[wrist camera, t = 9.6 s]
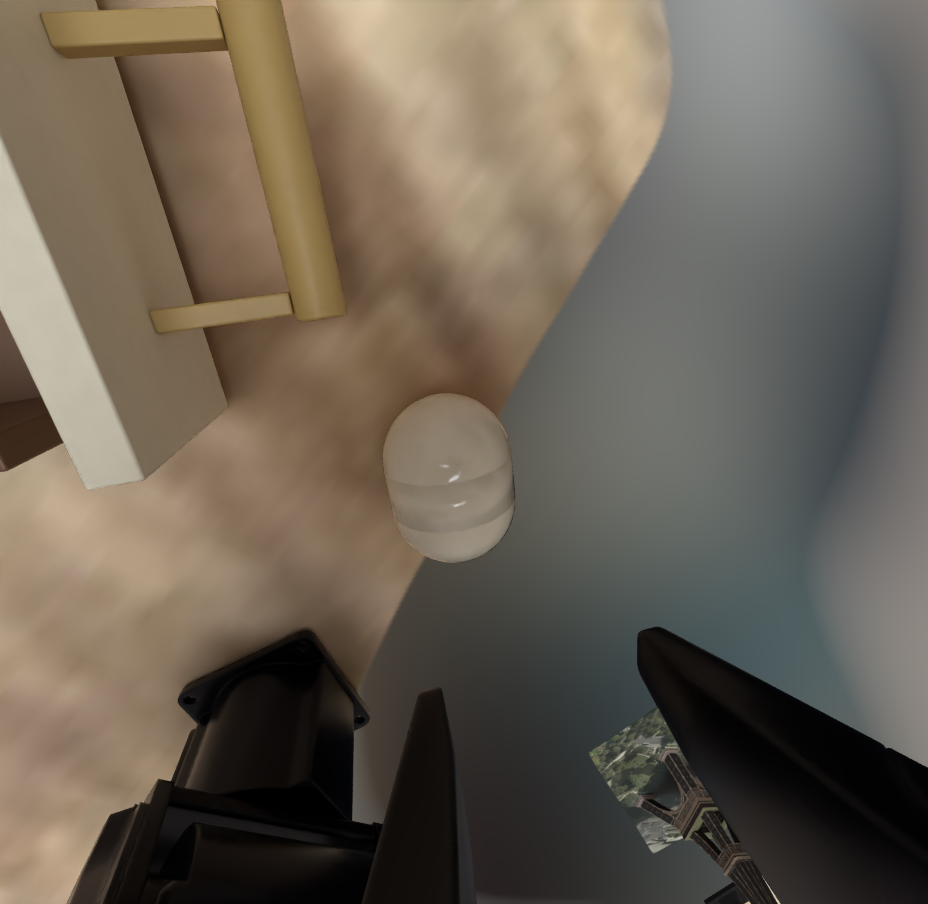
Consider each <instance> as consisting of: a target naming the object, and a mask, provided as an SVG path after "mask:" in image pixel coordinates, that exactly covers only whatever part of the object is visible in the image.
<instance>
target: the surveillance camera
mask: <svg viewBox="0 0 928 904" xmlns="http://www.w3.org/2000/svg"><path fill="white" fill-rule="evenodd" d="M748 901H749V900H748V899H747V898H746V896H745V895H744V894H743V892H742V891H741V890H740V889H739V888H738V886H737V885H736V884H735V883H734V882H732V883H731V884H729V885H728V886H726V887H725V888H723V889H721V890H720V891H718V892H717V893H715V894H714V895H712V896H710V897H709V898H707V899H706V900H704V902H705V903H706V904H745V903H746V902H748Z"/></svg>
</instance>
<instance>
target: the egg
mask: <svg viewBox="0 0 928 904" xmlns="http://www.w3.org/2000/svg"><path fill="white" fill-rule="evenodd" d="M383 468H384V474H385V478H386V483H387V488H388V493H389V497H390V502H391V507H392V512H393V516H394V518H395V521H396V524H397V527H398V529H399V531H400V533H401V534H402V536H403V537H404V539H405V540H406V541H407V542H408V543H409V544H410V545H411V546H412V547H413V548H414V549H415V550H416V551H418V552H420V553H421V554H423V555H425V556H426V557H428V558H431V559H433V560H437V561H442V562H447V563H461V562H466V561H470V560H474V559H476V558H478V557H480V556H482V555H484V554H486V553H487V552H489V551H490V550H492V549H493V548H494V547H495V546H496V545H497V544H498V543H499V542H500V541H501V540H502V538H503V537H504V536H505V534H506V532H507V531H508V529H509V527H510V525H511V522H512V519H513V514H514V510H515V488H514V477H513V466H512V456H511V449H510V444H509V439H508V437H507V434H506V431H505V429H504V427H503V425H502V424H501V423H500V421H499V420H498V418H497V417H496V415H495V414H494V413H493V412H492V411H491V410H489V409H488V408H487V407H486V406H485V405H483V404H481V403H480V402H478V401H476V400H475V399H473V398H470V397H466V396H463V395H460V394H451V393H440V394H434V395H430V396H427V397H424V398H421V399H419V400H417V401H415V402H414V403H412V404H411V405H409V406H408V407H407V408H405V409H404V410H403V411H402V412H401V413H400V414H399V415H398V417H397V418H396V419H395V420H394V422H393V424H392V425H391V427H390V429H389V430H388V433H387V436H386V439H385V442H384V450H383Z"/></svg>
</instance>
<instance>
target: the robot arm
mask: <svg viewBox="0 0 928 904" xmlns="http://www.w3.org/2000/svg"><path fill="white" fill-rule="evenodd" d="M301 641H307V642H308V643H306V644H302V643H300V642H301ZM637 666H638V670H639V672H640V675H641V677H642V679H643V681H644V683H645V685H646V686H647V688H648V690H649V692H650V694H651V696H652V698H653V700H654V702H655V703H656V705H657V707H658V709H659V711H660V713H661V715H662V717H663V718H664V720H665V722H666V724H667V726H668V728H669V730H670V731H671V733H672V735H673V737H674V739H675V741H676V743H677V744H678V746H679V748H680V750H681V752H682V753H683V755H684V757H685V759H686V760H687V762H688V763H689V765H690V767H691V768H692V770H693V771H694V773H695V774H696V776H697V777H698V779H699V780H700V782H701V783H702V785H703V786H704V788H705V790H706V791H707V793H708V794H709V796H710V797H711V799H712V800H713V802H714V803H715V805H716V806H717V808H718V809H719V811H720V812H721V814H722V815H723V817H724V818H725V820H726V821H727V823H728V824H729V826H730V827H731V829H732V831H733V832H734V834H735V835H736V837H737V838H738V840H739V841H740V843H741V844H742V846H743V847H744V849H745V850H746V852H747V853H748V855H749V856H750V858H751V859H752V861H753V862H754V864H755V865H756V867H757V868H758V870H759V872H760V873H761V875H762V876H763V878H764V879H765V881H766V882H767V884H768V885H769V887H770V888H771V890H772V891H773V893H774V894H775V896H776V897H777V899H778V900H779V902H780V903H781V904H928V767H926V766H923V765H922V764H919V763H918V762H916V761H914V760H912V759H910V758H908V757H906V756H905V755H903V754H901V753H899V752H897V751H895V750H893V749H891V748H885V746H884V745H883V744H881V743H880V742H878V741H876V740H874V739H872V738H870V737H868V736H866V735H864V734H862V733H861V732H859V731H857V730H855V729H853V728H851V727H849V726H847V725H845V724H844V723H842V722H840V721H838V720H836V719H834V718H832V717H830V716H829V715H826V714H825V713H823V712H821V711H819V710H817V709H815V708H813V707H811V706H809V705H808V704H806V703H804V702H802V701H800V700H798V699H796V698H794V697H793V696H791V695H789V694H787V693H785V692H783V691H781V690H779V689H777V688H776V687H773V686H772V685H770V684H768V683H766V682H764V681H762V680H760V679H759V678H757V677H755V676H753V675H751V674H749V673H747V672H745V671H743V670H741V669H739V668H738V667H736V666H734V665H732V664H730V663H728V662H726V661H724V660H723V659H721V658H719V657H717V656H715V655H713V654H711V653H709V652H707V651H706V650H704V649H702V648H700V647H698V646H696V645H694V644H692V643H690V642H688V641H686V640H685V639H683V638H681V637H679V636H677V635H675V634H673V633H671V632H669V631H668V630H666V629H664V628H661V627H652V628H649V629H645V630H642V631H640V632H639V633H638V637H637ZM189 696H193V697H194V698H193V697H189ZM178 703H179V705H180V706H181V707H182V708H183V709H184V710H185V711H186V712H187V713H188V714H189V715H190V716H191V717H192V718H193V720H194V721H195V722H196V723H197V724H198V725H197V727H196V728H195V729H193V730H192V731H191V732H190V734H189V737H188V739H187V742H186V744H185V747H184V749H183V752H182V754H181V757H180V760H179V762H178V765H177V767H176V770H175V772H174V775H173V777H172V780H171V781H166V780H161V779H158V780H157V781H156V783H155V785H154V786H153V788H152V790H151V791H150V793H149V794H148V796H147V798H146V799H145V801H144V803H143V802H140V804H139V805H137V804H135V805H134V807H132V808H129V809H126V810H123V811H120V812H117V813H114V814H111V815H110V816H109V818H108V819H107V821H106V823H105V824H104V826H103V828H102V830H101V832H100V834H99V836H98V838H97V840H96V842H95V844H94V846H93V848H92V851H91V853H90V855H89V857H88V859H87V861H86V863H85V865H84V867H83V869H82V871H81V873H80V875H79V877H78V880H77V882H76V884H75V886H74V888H73V890H72V893H71V895H70V897H69V899H68V901H67V904H477V903H476V894H475V882H474V872H473V862H472V852H471V841H470V833H469V826H468V821H467V814H466V809H465V803H464V799H463V794H462V788H461V783H460V778H459V773H458V768H457V762H456V758H455V752H454V747H453V742H452V737H451V732H450V727H449V722H448V717H447V712H446V707H445V702H444V697H443V692H442V689H441V688H440V687H435V688H432V689H428V690H424V691H421V692H420V693H419V695H418V697H417V700H416V704H415V708H414V711H413V715H412V719H411V722H410V726H409V730H408V733H407V737H406V741H405V745H404V748H403V752H402V756H401V759H400V763H399V767H398V771H397V774H396V778H395V782H394V785H393V789H392V793H391V797H390V800H389V804H388V808H387V812H386V816H385V819H384V823H383V824H379V823H375V822H373V823H372V824H371V825H370V824H365V823H360V822H355V821H352V802H353V750H354V731H355V730H357V729H359V728H361V727H363V726H365V725H366V724H367V723H368V722H369V719H370V711H369V709H368V707H367V706H366V704H365V703H364V702H363V700H362V699H361V698H360V696H359V695H358V693H357V692H356V691H355V689H354V688H353V687H352V685H351V684H350V682H349V681H348V680H347V678H346V677H345V676H344V674H343V673H342V671H341V670H340V669H339V667H338V666H337V665H336V663H335V662H334V660H333V659H332V658H331V656H330V655H329V654H328V652H327V651H326V650H325V648H324V647H323V645H322V644H321V643H320V641H319V640H318V639H317V637H316V636H315V634H313V633H312V632H310V631H300V632H298V633H296V634H294V635H291V636H289V637H287V638H285V639H283V640H281V641H279V642H277V643H275V644H273V645H271V646H269V647H267V648H265V649H262V650H260V651H258V652H256V653H254V654H252V655H250V656H248V657H246V658H244V659H242V660H240V661H238V662H236V663H233V664H231V665H229V666H227V667H225V668H223V669H221V670H219V671H217V672H215V673H213V674H211V675H209V676H206V677H204V678H202V679H200V680H198V681H196V682H194V683H192V684H190V685H188V686H186V687H185V688H183V690H182V691H181V693H180V696H179V698H178ZM358 716H361V717H358Z"/></svg>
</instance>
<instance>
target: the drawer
mask: <svg viewBox="0 0 928 904" xmlns="http://www.w3.org/2000/svg"><path fill="white" fill-rule="evenodd" d="M216 3H217V7H218V11H219V13H218V11H217V9H216V7H214V6H198V7H173V8H147V9H121V10H98V7H97V4H96V1H95V0H0V472H4V471H8V470H10V469H12V468H14V467H16V466H18V465H20V464H22V463H24V462H26V461H28V460H30V459H32V458H34V457H36V456H38V455H40V454H42V453H44V452H46V451H48V450H50V449H52V448H54V447H56V446H58V445H60V444H62V443H64V445H65V447H66V449H67V451H68V453H69V455H70V457H71V459H72V461H73V463H74V466H75V468H76V470H77V472H78V474H79V476H80V478H81V480H82V482H83V484H84V487H85V489H86V490H95V489H101V488H106V487H111V486H117V485H122V484H127V483H133V482H138V481H143V480H145V479H146V478H147V477H148V476H149V475H151V474H152V473H153V472H154V471H155V470H156V469H158V468H159V467H160V466H161V465H162V464H163V463H165V462H166V461H167V460H168V459H169V458H170V457H172V456H173V455H174V454H175V453H176V452H177V451H178V450H180V449H181V448H182V447H183V446H184V445H185V444H187V443H188V442H189V441H190V440H191V439H192V438H194V437H195V436H196V435H197V434H198V433H199V432H201V431H202V430H203V429H204V428H205V427H206V426H207V425H209V424H210V423H211V422H212V421H213V420H214V419H216V418H217V417H218V416H219V415H220V414H221V413H223V412H224V411H225V410H226V409H227V408H228V404H227V401H226V398H225V395H224V392H223V389H222V386H221V383H220V380H219V377H218V374H217V371H216V368H215V365H214V361H213V358H212V355H211V352H210V349H209V346H208V343H207V340H206V337H205V334H204V331H203V328H206V327H213V326H220V325H227V324H234V323H241V322H248V321H255V320H262V319H269V318H276V317H283V316H290V315H294V314H295V316H296V319H297V320H298V321H300V322H305V321H314V320H321V319H328V318H334V317H339V316H344V315H345V314H346V313H347V309H346V304H345V300H344V295H343V290H342V285H341V281H340V276H339V271H338V267H337V262H336V257H335V252H334V248H333V243H332V238H331V234H330V229H329V224H328V219H327V215H326V210H325V205H324V201H323V196H322V191H321V186H320V182H319V177H318V172H317V168H316V163H315V158H314V153H313V149H312V144H311V139H310V134H309V130H308V125H307V120H306V116H305V111H304V106H303V101H302V97H301V92H300V87H299V83H298V78H297V73H296V68H295V64H294V59H293V54H292V50H291V45H290V40H289V35H288V31H287V26H286V21H285V17H284V12H283V7H282V3H281V1H280V0H216ZM209 51H229V55H230V59H231V63H232V67H233V71H234V74H235V78H236V82H237V86H238V90H239V94H240V98H241V102H242V106H243V110H244V114H245V118H246V122H247V126H248V130H249V134H250V138H251V142H252V146H253V150H254V154H255V158H256V162H257V166H258V170H259V174H260V177H261V181H262V185H263V189H264V193H265V197H266V201H267V205H268V209H269V213H270V217H271V221H272V225H273V229H274V233H275V237H276V241H277V245H278V249H279V253H280V257H281V261H282V265H283V269H284V273H285V277H286V280H287V284H288V288H289V292H290V293H289V292H284V293H276V294H269V295H261V296H254V297H246V298H239V299H231V300H224V301H216V302H209V303H201V304H195V303H194V300H193V297H192V294H191V291H190V288H189V285H188V282H187V279H186V276H185V273H184V270H183V267H182V264H181V261H180V257H179V254H178V251H177V248H176V245H175V242H174V239H173V236H172V233H171V230H170V227H169V224H168V221H167V218H166V215H165V212H164V209H163V206H162V202H161V199H160V196H159V193H158V190H157V187H156V184H155V181H154V178H153V175H152V172H151V169H150V166H149V163H148V160H147V157H146V154H145V150H144V147H143V144H142V141H141V138H140V135H139V132H138V129H137V126H136V123H135V120H134V117H133V114H132V111H131V108H130V105H129V102H128V98H127V95H126V92H125V89H124V86H123V83H122V80H121V77H120V74H119V71H118V68H117V65H116V62H115V59H114V57H116V56H135V55H153V54H172V53H191V52H209Z"/></svg>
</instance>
